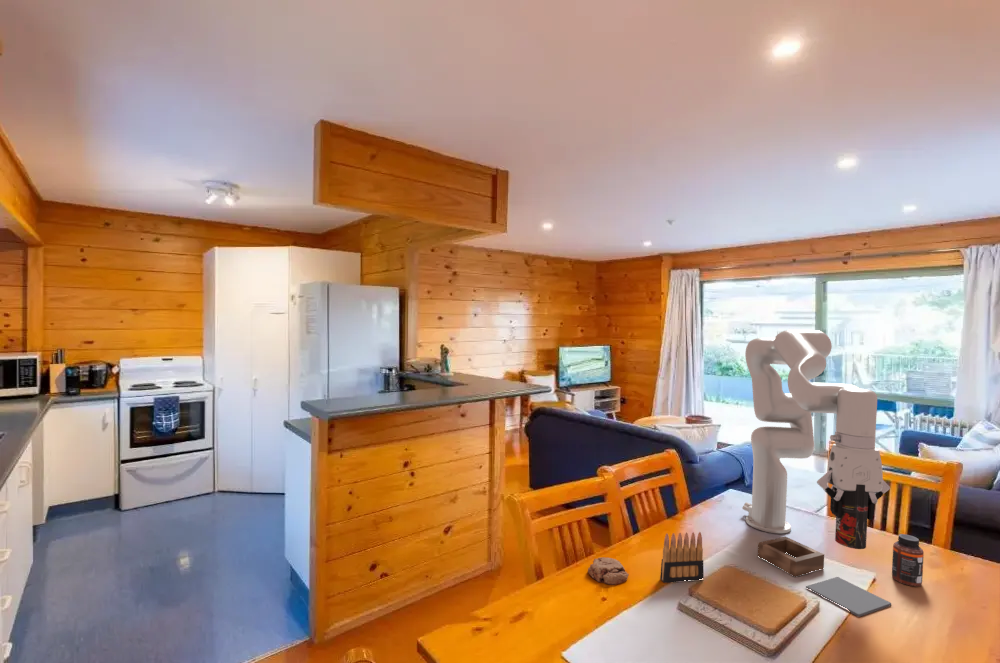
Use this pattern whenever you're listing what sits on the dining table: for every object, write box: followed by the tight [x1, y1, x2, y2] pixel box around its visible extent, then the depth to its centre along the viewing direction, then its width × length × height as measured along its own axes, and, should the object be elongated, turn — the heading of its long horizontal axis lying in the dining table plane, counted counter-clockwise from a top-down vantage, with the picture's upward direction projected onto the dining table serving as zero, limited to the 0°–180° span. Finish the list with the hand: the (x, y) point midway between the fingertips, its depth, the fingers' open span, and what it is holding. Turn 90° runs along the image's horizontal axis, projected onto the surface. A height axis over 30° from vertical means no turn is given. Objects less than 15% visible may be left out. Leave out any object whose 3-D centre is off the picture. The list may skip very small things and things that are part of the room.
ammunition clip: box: [659, 531, 705, 584], centre depth 120 cm, size 11×2×12 cm, turn 98°
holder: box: [756, 536, 825, 578], centre depth 130 cm, size 11×11×4 cm
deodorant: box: [834, 484, 869, 550], centre depth 114 cm, size 6×6×15 cm
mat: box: [805, 576, 892, 618], centre depth 115 cm, size 12×12×1 cm
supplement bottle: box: [891, 533, 925, 587], centre depth 122 cm, size 6×6×11 cm
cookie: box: [587, 557, 629, 586], centre depth 123 cm, size 10×11×3 cm
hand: (851, 515), depth 114 cm, fingers closed on deodorant, 6 cm apart
